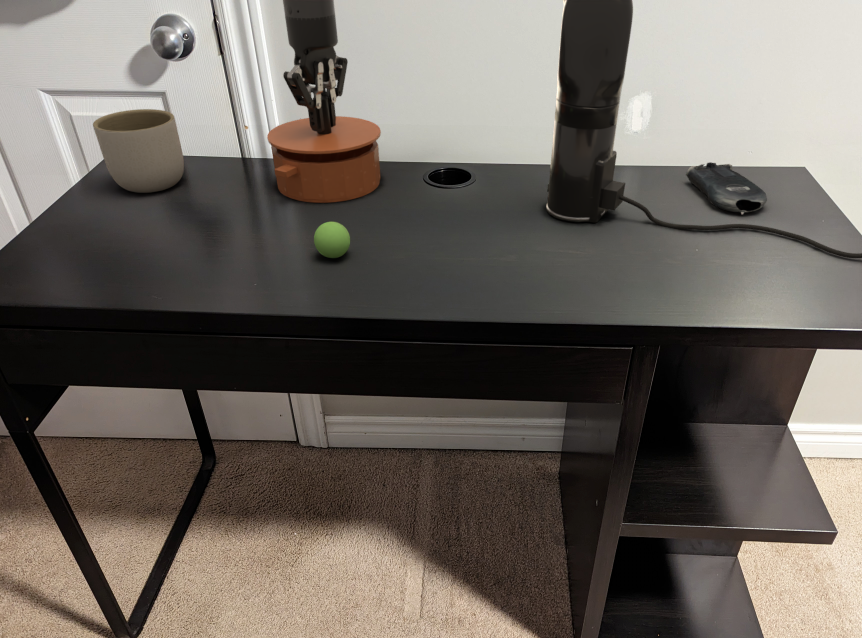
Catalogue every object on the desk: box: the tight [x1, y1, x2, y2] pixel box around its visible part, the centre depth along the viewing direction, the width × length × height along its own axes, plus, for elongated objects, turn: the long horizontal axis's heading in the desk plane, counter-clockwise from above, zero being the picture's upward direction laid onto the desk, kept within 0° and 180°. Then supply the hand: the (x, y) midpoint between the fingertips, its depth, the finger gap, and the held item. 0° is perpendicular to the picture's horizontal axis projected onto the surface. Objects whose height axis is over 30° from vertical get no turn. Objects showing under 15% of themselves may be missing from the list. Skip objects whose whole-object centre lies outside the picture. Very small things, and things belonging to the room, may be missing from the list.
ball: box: [313, 221, 351, 259], centre depth 95 cm, size 5×5×5 cm
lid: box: [266, 96, 382, 154], centre depth 112 cm, size 19×19×7 cm
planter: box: [92, 108, 185, 194], centre depth 115 cm, size 12×12×11 cm
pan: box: [271, 140, 381, 204], centre depth 117 cm, size 18×23×6 cm
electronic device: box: [685, 162, 768, 215], centre depth 114 cm, size 9×6×15 cm
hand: (324, 128), depth 113 cm, fingers closed on lid, 2 cm apart
